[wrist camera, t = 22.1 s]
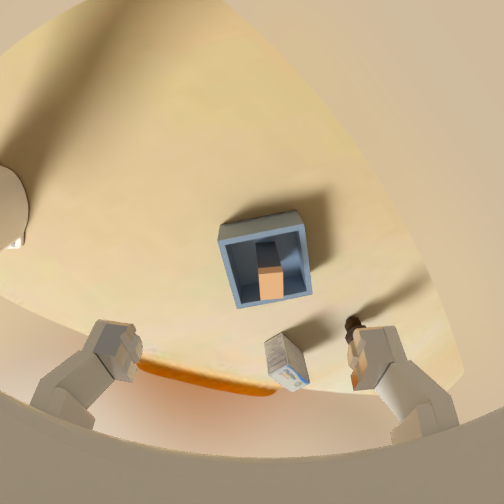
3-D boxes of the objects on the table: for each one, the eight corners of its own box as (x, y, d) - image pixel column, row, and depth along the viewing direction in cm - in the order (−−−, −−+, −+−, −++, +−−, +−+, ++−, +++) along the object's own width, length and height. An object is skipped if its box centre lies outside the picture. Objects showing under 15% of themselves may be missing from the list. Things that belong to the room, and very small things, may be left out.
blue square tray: (237, 288, 48) (237, 308, 43) (220, 225, 43) (217, 240, 38) (305, 275, 47) (312, 294, 42) (296, 209, 42) (304, 223, 37)
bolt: (366, 309, 52) (395, 365, 38) (363, 328, 54) (389, 383, 41) (338, 314, 52) (363, 374, 39) (336, 333, 54) (358, 391, 41)
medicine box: (263, 341, 54) (266, 375, 46) (282, 331, 53) (288, 364, 45) (285, 361, 57) (290, 393, 50) (303, 351, 56) (310, 383, 48)
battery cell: (256, 266, 45) (260, 300, 37) (255, 243, 43) (258, 274, 35) (275, 264, 45) (283, 298, 37) (274, 241, 44) (282, 272, 35)
